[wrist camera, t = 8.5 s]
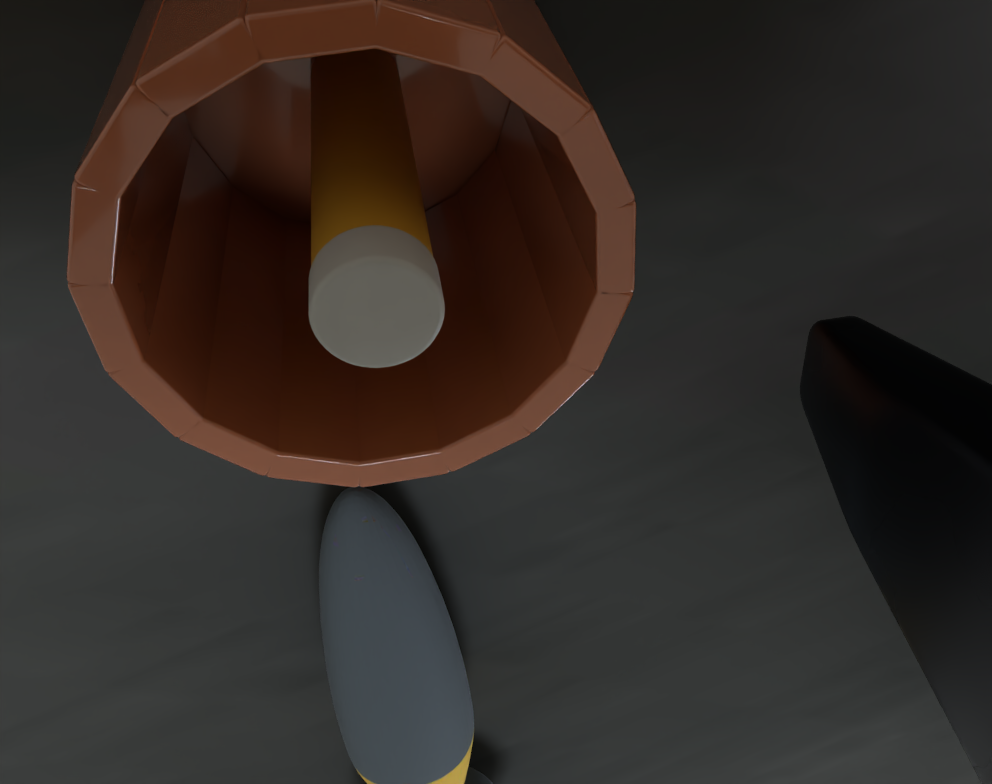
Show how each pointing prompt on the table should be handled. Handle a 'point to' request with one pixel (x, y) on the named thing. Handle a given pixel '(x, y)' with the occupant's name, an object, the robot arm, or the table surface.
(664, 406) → the table surface
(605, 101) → the table surface
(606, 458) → the table surface
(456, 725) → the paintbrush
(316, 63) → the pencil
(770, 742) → the table surface
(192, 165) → the pen cup
